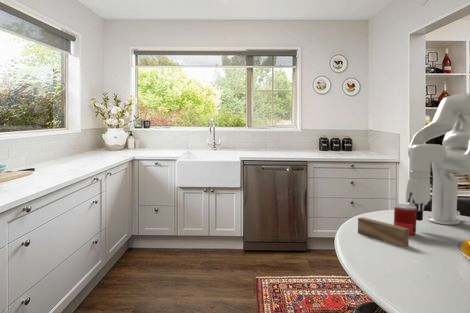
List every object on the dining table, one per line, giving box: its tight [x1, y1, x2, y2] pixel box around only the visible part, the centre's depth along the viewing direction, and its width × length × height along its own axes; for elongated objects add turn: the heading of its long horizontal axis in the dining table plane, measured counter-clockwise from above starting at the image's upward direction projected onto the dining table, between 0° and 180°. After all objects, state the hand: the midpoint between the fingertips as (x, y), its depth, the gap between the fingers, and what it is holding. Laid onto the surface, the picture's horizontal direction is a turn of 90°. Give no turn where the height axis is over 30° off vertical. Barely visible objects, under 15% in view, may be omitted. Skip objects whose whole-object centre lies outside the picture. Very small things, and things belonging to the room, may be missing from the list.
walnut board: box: [357, 216, 410, 247], centre depth 137 cm, size 3×20×6 cm, turn 31°
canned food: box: [393, 203, 417, 237], centre depth 144 cm, size 8×8×11 cm
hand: (417, 219), depth 148 cm, fingers closed
